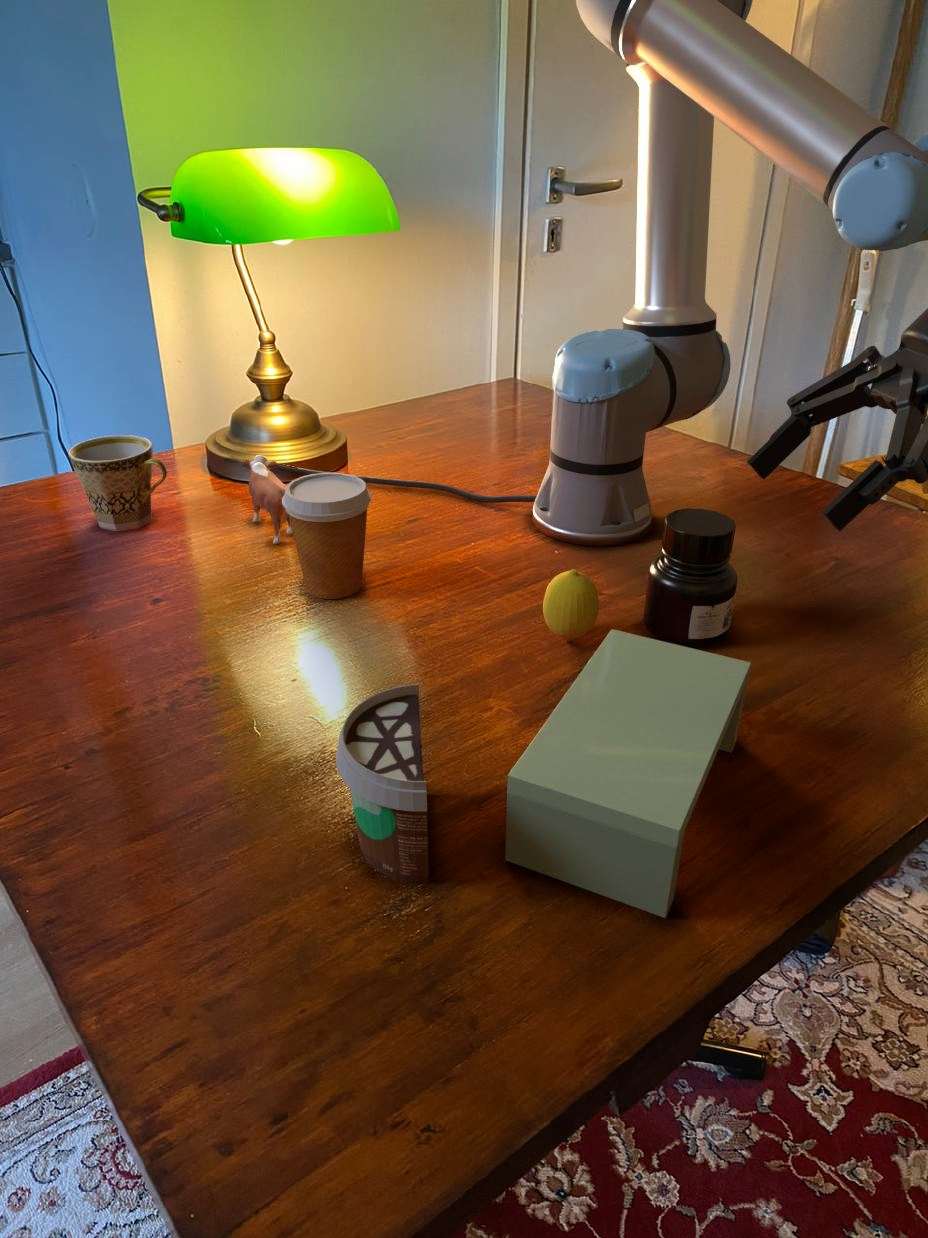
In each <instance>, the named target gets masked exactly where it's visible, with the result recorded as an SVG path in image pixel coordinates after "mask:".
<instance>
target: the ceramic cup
mask: <svg viewBox="0 0 928 1238" xmlns="http://www.w3.org/2000/svg"><path fill="white" fill-rule="evenodd" d="M153 447H154V446H153V442H152V441H151V440H150V439H149V438H146V437H145V436H144V437H143V436H139V435H131V434H113V435H104V436H98V437H94V438H90V439H87V440H83V441H81V442H78V443H76V444H75V445H73V446H72V447H70V449H69V450H68V452H67V454H68V457H69V460H70V462H71V465H72V468H73V470H74V471H75V474H76V477H77V479H78V481H79V483H80V485H81V486H82V489H83V490H84V492H85V494H86V497H87V500H88V502H89V504H90V507H91V509H92V512H93V514H94V517H95V519H96V521H97V523H98V526H99V527H100V528H101V529H104V530H108V531H113V532H122V531H129V530H135V529H140V528H141V527H143V526H146V525H147V524H149V523H150V522H152V493H154V491H155V490H156V488H157V487H158V486H159V485H161V484H162V483H163V482H165V480H166V478H167V476H168V471H167V468H166V466H165V464H164V462H162V461H161V459H158V458H154V448H153ZM154 466H157V467H158V468H159V469H160V470H161V473H162V475H161V478H160V479H159V480H158V481H156V482H155V483H153V485H152V480H153V479H152V478H153V467H154Z"/></svg>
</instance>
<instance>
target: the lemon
mask: <svg viewBox="0 0 928 1238" xmlns="http://www.w3.org/2000/svg"><path fill="white" fill-rule="evenodd" d="M599 609H600V603H599V595H598V590H597V587H596V585H595V583H594V582H593V580H592V579H591V578H590V577H588V575H586V574H585V573H582V572H579V571H578V570H577V569H570V570H566V571H564V572H561V573H559V574H558V575H555V576H554V578H552V579H551V580H550V581H549V583H548V585H547V588H546V590H545V594H544V596H543V602H542V613H543V617H544V621H545V624H546V626H547V627H548V629H549V630H550V631H551V632H552V633H553V634H554V635H555V636H557V637H558V638H559V637H560V638H562V639H564V640H565V641H567V642H572V641H573V640H575V639H578V638H579V639H580V638H581V637H583V636H585V635H586V634H588V633H589V632H590V631H591V630H592V629H593V628H594V626H595V623H596V621H597V619H598V615H599Z"/></svg>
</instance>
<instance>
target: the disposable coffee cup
mask: <svg viewBox="0 0 928 1238" xmlns="http://www.w3.org/2000/svg"><path fill="white" fill-rule="evenodd" d="M356 476H357V475H353V474H349V473H343V472H329V473H318V474H311V475H303V476H300V477H298V478H294V479H293V480H291V481H290V482H289V483H287V485H286V489H285V495H284V496H283V498H282V505H283V506H284V508H285V509H286V512H287V513H288V516H289V519H290V523H291V528H292V532H293V534H292V536H293V540H294V544H295V548H296V552H297V556H298V561H299V565H300V569H301V573H302V577H303V581H304V586H305V590H306V592H307V593H308V594H309V595H311V596H313V597H315V598H319V599H326V600H335V599H337V600H338V599H343V598H347V597H350V596H352V595H354V594H356V593H357V592H359V590H361V588H362V585H363V572H364V560H365V546H366V545H365V544H366V533H367V520H368V508H369V507H370V503H371V501H372V494H371V492H370V490H368V488H367V483H365V482H364V481H363V480H362V479H360V478H358V477H356Z"/></svg>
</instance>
